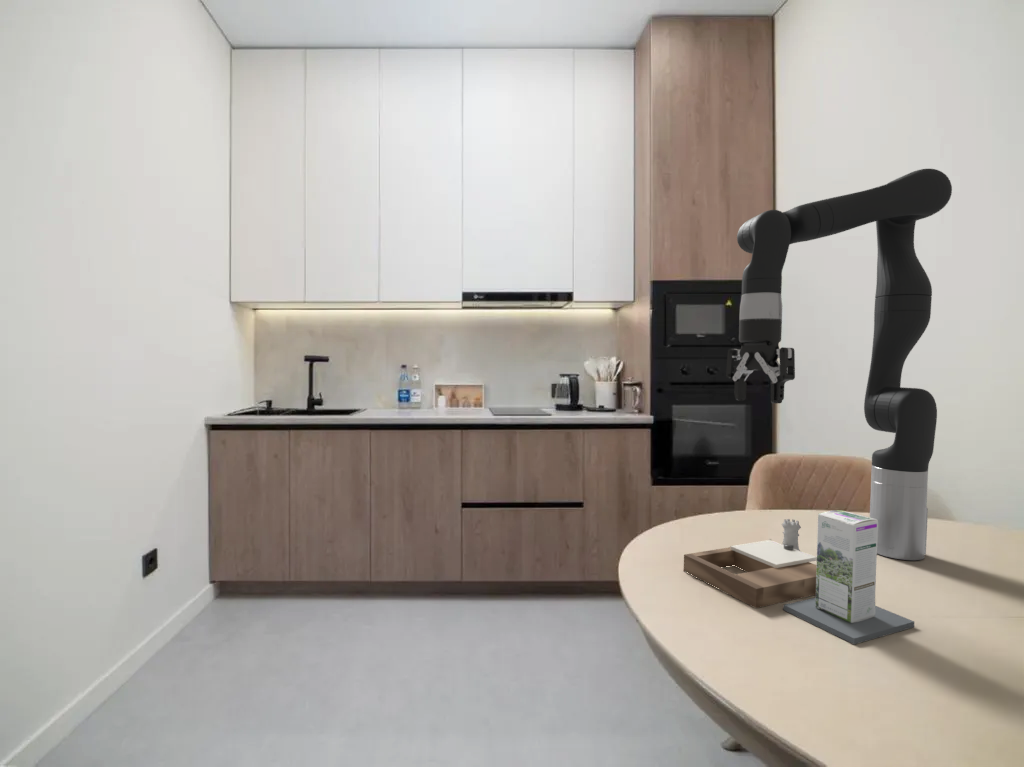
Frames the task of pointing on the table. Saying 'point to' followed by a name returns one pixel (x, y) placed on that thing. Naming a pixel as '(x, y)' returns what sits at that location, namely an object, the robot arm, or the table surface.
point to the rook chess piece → (791, 533)
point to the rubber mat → (848, 631)
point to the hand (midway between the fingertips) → (757, 401)
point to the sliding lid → (773, 553)
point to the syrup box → (846, 565)
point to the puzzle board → (752, 577)
